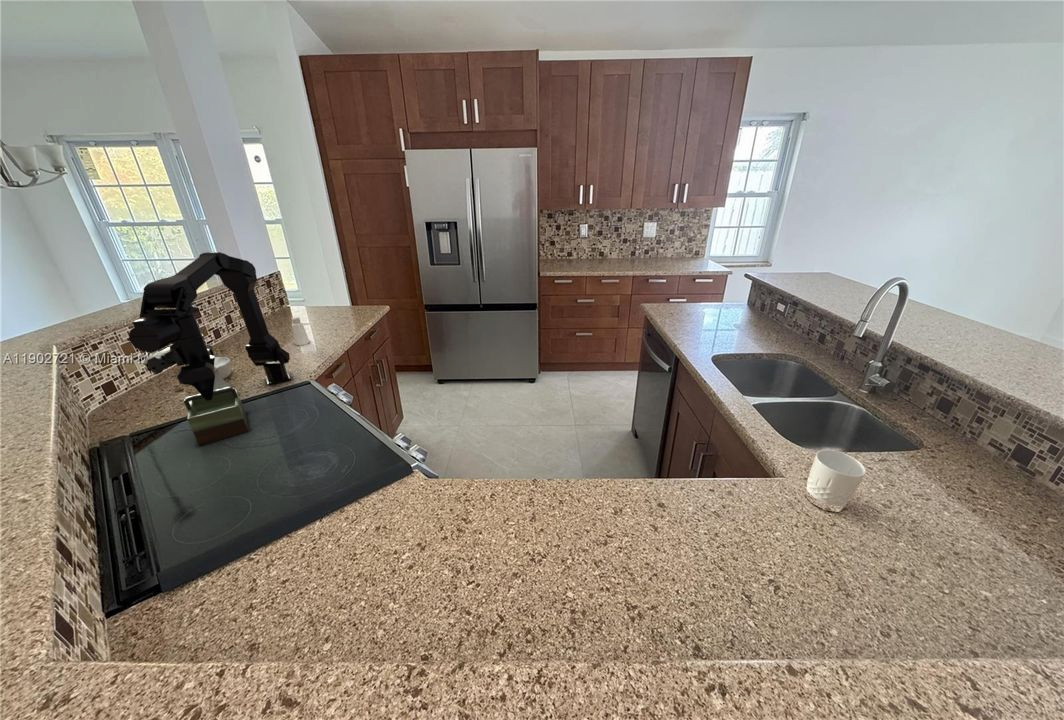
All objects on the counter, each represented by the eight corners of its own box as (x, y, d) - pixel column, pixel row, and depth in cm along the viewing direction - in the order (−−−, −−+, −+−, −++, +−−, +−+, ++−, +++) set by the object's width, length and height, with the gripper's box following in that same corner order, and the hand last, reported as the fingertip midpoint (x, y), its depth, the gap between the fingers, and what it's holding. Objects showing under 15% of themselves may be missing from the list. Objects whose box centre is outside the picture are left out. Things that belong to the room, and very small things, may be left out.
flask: (243, 393, 116) (232, 364, 112) (223, 405, 109) (211, 375, 105) (222, 391, 116) (210, 363, 112) (201, 403, 110) (188, 373, 106)
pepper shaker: (312, 340, 156) (306, 315, 151) (304, 345, 151) (297, 320, 146) (300, 340, 156) (293, 315, 152) (291, 345, 151) (284, 319, 147)
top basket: (194, 413, 98) (183, 389, 95) (241, 401, 104) (233, 378, 101) (192, 432, 90) (181, 407, 87) (243, 418, 96) (234, 394, 93)
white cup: (841, 493, 78) (859, 456, 74) (852, 520, 72) (872, 481, 68) (797, 482, 81) (812, 445, 77) (804, 507, 75) (820, 468, 71)
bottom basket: (200, 425, 100) (194, 413, 98) (245, 413, 105) (241, 401, 104) (199, 446, 92) (193, 432, 90) (248, 431, 97) (243, 418, 96)
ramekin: (240, 375, 127) (235, 361, 125) (200, 388, 118) (194, 373, 116) (226, 367, 132) (221, 354, 130) (187, 379, 124) (180, 365, 121)
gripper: (143, 331, 90) (170, 387, 96) (132, 356, 76) (163, 420, 83) (203, 322, 96) (223, 375, 102) (201, 344, 83) (225, 403, 89)
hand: (209, 392), depth 94 cm, fingers open, 9 cm apart
